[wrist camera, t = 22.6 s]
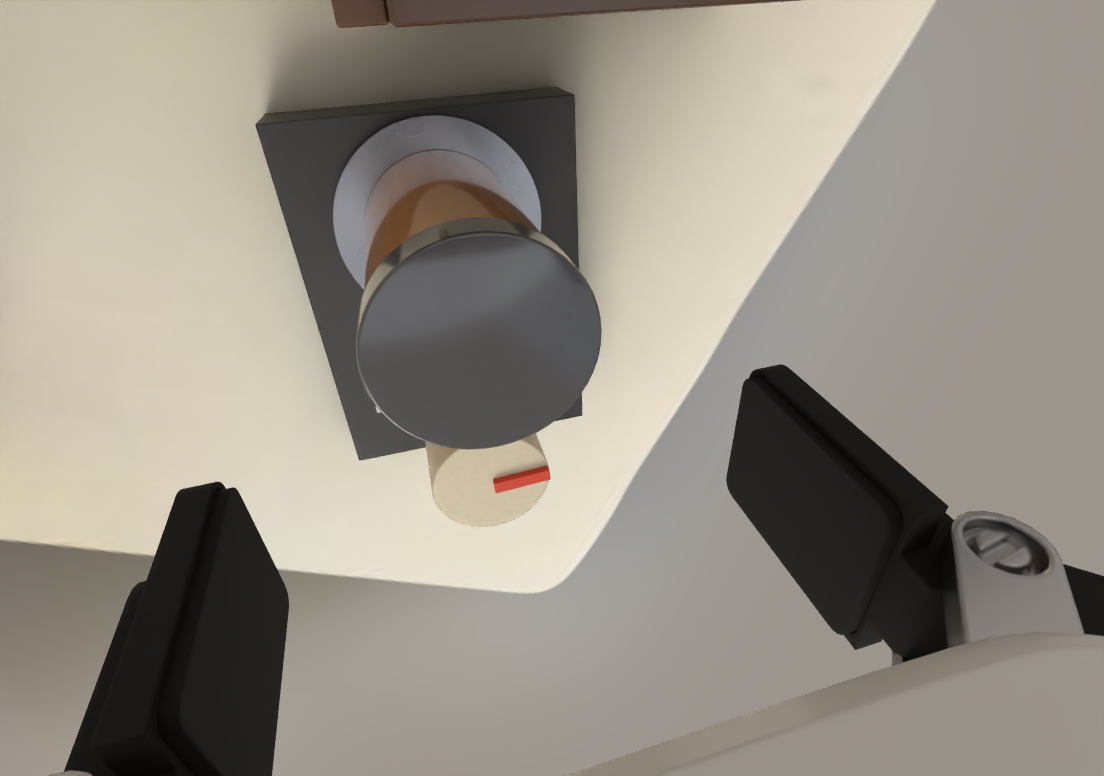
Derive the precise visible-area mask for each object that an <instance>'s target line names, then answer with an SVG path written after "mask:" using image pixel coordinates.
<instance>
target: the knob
mask: <svg viewBox="0 0 1104 776" xmlns="http://www.w3.org/2000/svg"><path fill="white" fill-rule="evenodd" d="M425 443H426V450H427V458H428V465H429V472H430V479H431V487H432V493H433V498H434V501H435V503H436V505H437V507H438V508H439V509H440V510H441V512H442V513H443V514H444V515H446V516H447V517H448V518H450V519H451V520H453V521H455V522H458V523H460V524H464V525H468V526H477V527H486V526H494V525H498V524H502V523H505V522H508V521H511V520H513V519H515V518H517V517H519V516H521V515H522V514H524V513H525V512H527V511H528V510H529V509H531V508H532V507H533V506H534V505H535V504H536V503H537V502H538V500H539V499H540V498H541V496H542V495H543V493H544V491H545V489H546V487H547V483H548V480H550V472H549V467H548V463H547V461H546V458H545V455H544V453H543V450H542V448H541V445H540V443H539V440H538V438H537V435H536V433H535V434H532V435H530V436H528V437H526V438H524V439H521V440H519V441H516V442H513V443H510V444H506V445H502V446H499V447H492V448H486V449H471V450H468V449H454V448H447V447H441V446H438V445H434V444H431V443H427V442H425Z"/></svg>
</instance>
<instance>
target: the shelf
mask: <svg viewBox="0 0 1104 776" xmlns="http://www.w3.org/2000/svg"><path fill="white" fill-rule="evenodd" d="M331 1H332V6H333V11H334V15H335V20H336V24H337V26H338V27H340V28H346V27H361V26H377V25H387V24H388V22H390V24H391V25H393V26H394V27H408V26H423V25H438V24H453V23H468V22H483V21H499V20H514V19H529V18H544V17H559V16H574V15H589V14H604V13H619V12H634V11H649V10H664V9H679V8H694V7H709V6H724V5H739V4H754V3H769V2H784V1H799V0H331Z"/></svg>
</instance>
